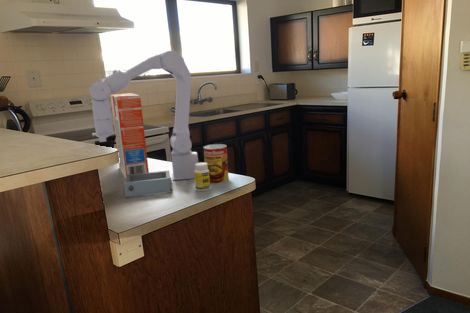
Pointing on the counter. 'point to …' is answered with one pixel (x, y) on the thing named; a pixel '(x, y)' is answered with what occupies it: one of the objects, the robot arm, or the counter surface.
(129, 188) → the door
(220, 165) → the canned food
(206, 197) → the counter surface
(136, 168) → the pasta box
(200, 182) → the supplement bottle
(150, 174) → the housing
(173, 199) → the counter surface
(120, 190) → the counter surface
